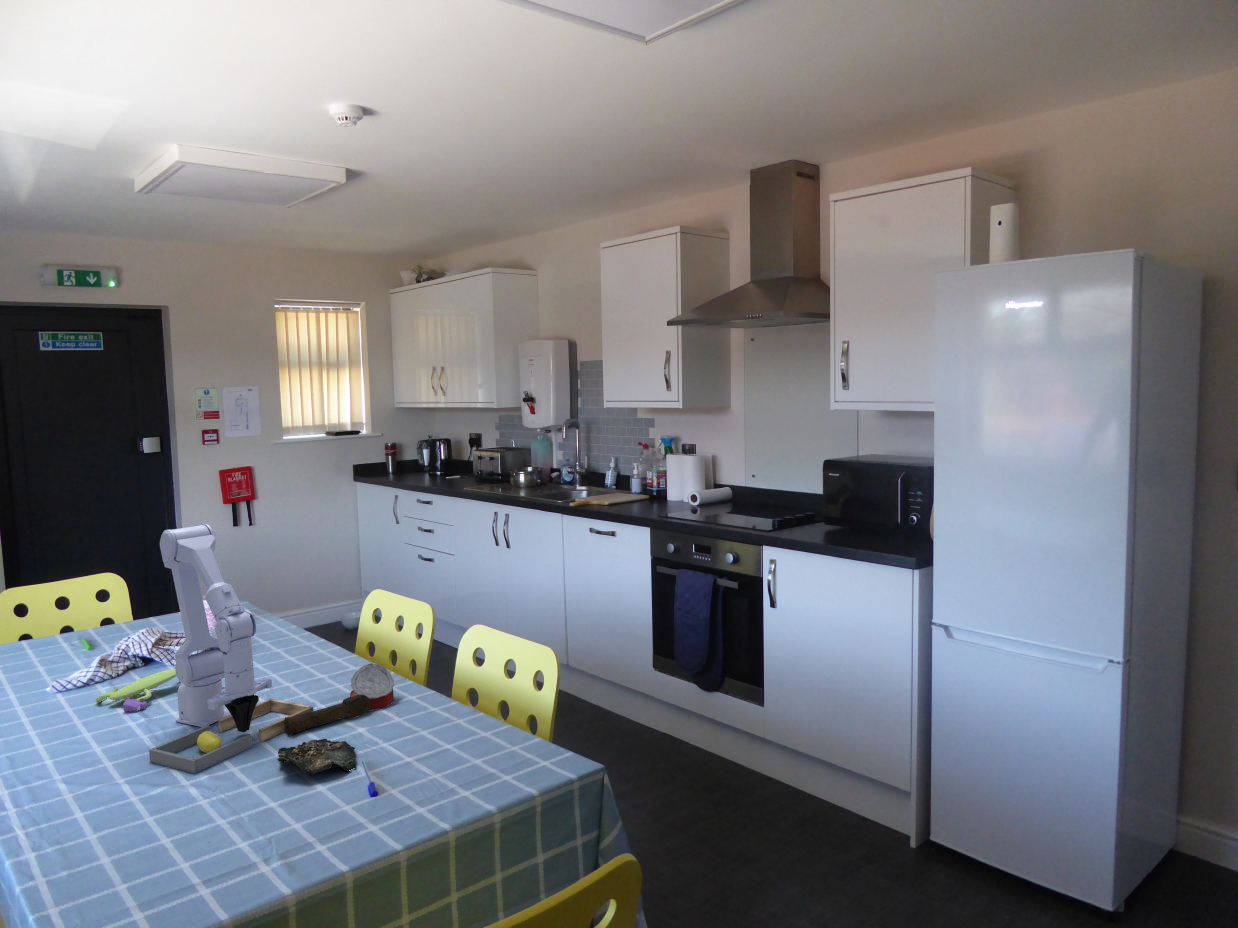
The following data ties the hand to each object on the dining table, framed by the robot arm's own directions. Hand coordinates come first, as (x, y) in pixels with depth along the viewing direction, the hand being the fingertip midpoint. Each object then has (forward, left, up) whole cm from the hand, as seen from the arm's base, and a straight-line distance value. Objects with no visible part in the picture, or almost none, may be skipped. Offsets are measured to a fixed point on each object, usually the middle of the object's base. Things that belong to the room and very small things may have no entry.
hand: (243, 730), depth 178 cm
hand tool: (+12, +12, -2) cm, 17 cm away
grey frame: (0, -10, -1) cm, 10 cm away
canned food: (+13, +25, -1) cm, 28 cm away
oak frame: (0, +6, -1) cm, 6 cm away
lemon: (0, -8, -1) cm, 8 cm away
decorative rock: (+25, -4, -2) cm, 26 cm away
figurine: (-41, +10, -2) cm, 43 cm away
